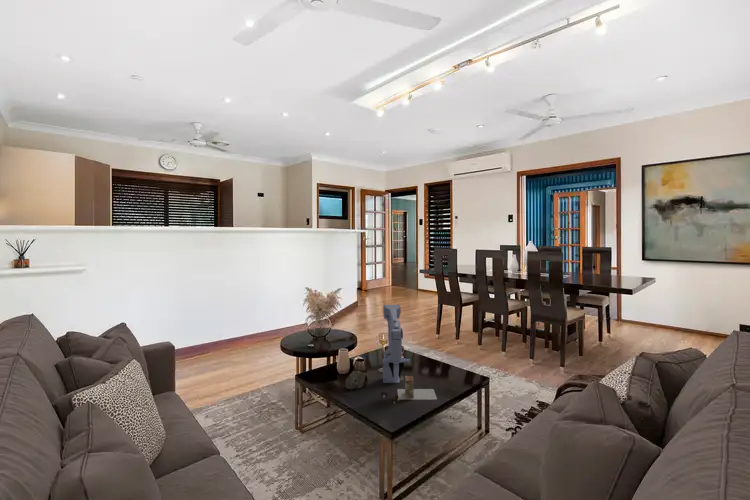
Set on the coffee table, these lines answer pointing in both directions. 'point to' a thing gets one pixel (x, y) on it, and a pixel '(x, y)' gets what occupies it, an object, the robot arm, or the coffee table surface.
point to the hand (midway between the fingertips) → (396, 376)
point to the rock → (355, 380)
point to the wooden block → (409, 387)
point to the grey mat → (418, 394)
